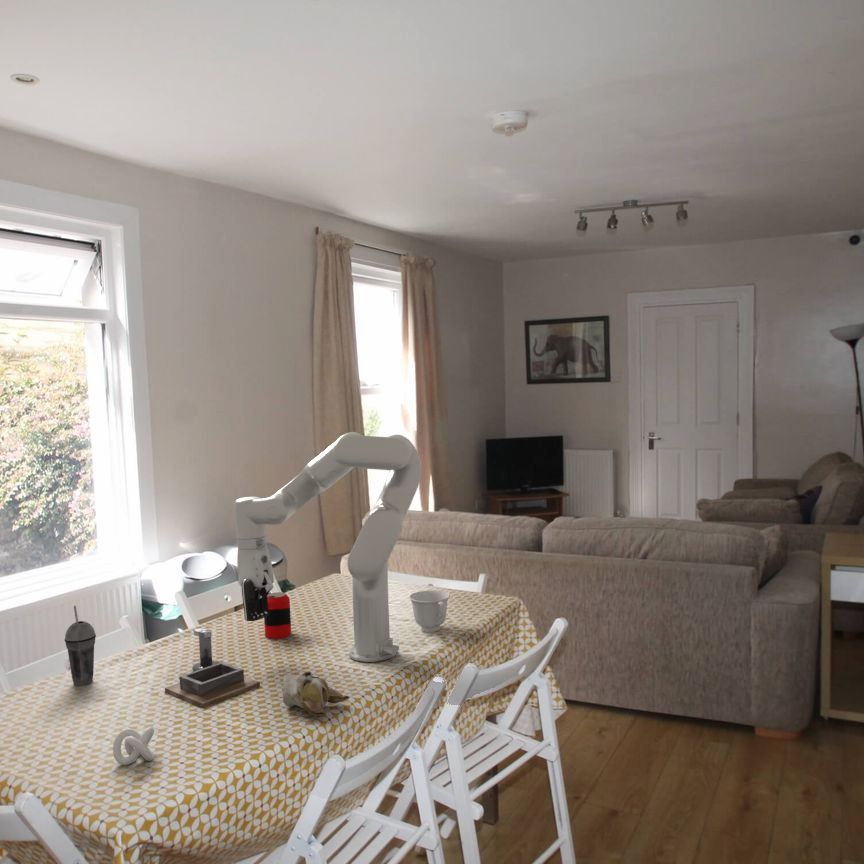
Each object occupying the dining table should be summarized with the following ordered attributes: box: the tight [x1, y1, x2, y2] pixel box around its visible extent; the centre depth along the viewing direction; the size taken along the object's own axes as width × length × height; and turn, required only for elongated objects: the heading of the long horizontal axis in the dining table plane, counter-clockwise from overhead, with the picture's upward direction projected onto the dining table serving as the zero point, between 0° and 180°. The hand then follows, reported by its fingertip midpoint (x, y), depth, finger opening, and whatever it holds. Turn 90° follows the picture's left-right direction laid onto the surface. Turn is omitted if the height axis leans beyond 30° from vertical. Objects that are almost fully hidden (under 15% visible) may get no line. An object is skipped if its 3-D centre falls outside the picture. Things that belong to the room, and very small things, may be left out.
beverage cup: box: [64, 605, 97, 687], centre depth 199 cm, size 7×7×20 cm
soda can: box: [263, 591, 292, 640], centre depth 232 cm, size 8×8×12 cm
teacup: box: [408, 590, 451, 633], centre depth 232 cm, size 12×15×10 cm
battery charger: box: [241, 579, 269, 622], centre depth 212 cm, size 7×4×11 cm, turn 145°
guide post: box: [192, 627, 221, 672], centre depth 206 cm, size 7×7×10 cm
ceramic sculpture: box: [282, 671, 350, 717], centre depth 179 cm, size 11×9×15 cm
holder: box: [164, 661, 261, 708], centre depth 192 cm, size 16×16×4 cm
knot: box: [112, 726, 155, 766], centre depth 157 cm, size 8×8×6 cm
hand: (257, 610), depth 213 cm, fingers closed on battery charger, 4 cm apart
